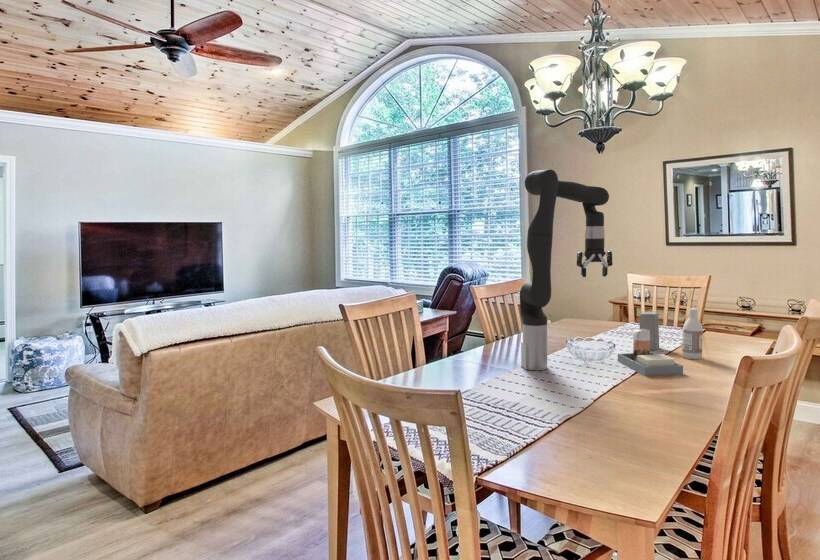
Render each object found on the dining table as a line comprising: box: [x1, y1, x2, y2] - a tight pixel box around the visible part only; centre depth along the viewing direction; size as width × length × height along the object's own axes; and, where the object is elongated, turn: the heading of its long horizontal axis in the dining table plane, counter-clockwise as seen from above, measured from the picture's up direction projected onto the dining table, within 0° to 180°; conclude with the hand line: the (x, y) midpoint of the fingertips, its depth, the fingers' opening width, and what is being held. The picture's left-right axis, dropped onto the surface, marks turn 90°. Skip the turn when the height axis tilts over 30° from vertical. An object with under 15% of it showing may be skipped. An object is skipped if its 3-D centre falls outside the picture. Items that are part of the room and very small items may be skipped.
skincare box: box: [638, 311, 660, 351], centre depth 221 cm, size 8×7×16 cm
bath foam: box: [681, 307, 704, 361], centre depth 203 cm, size 7×7×20 cm
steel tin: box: [632, 328, 651, 362], centre depth 193 cm, size 6×6×13 cm
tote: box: [617, 351, 684, 377], centre depth 188 cm, size 14×20×4 cm
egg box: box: [637, 353, 675, 367], centre depth 184 cm, size 10×7×5 cm
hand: (594, 276), depth 209 cm, fingers open, 8 cm apart
